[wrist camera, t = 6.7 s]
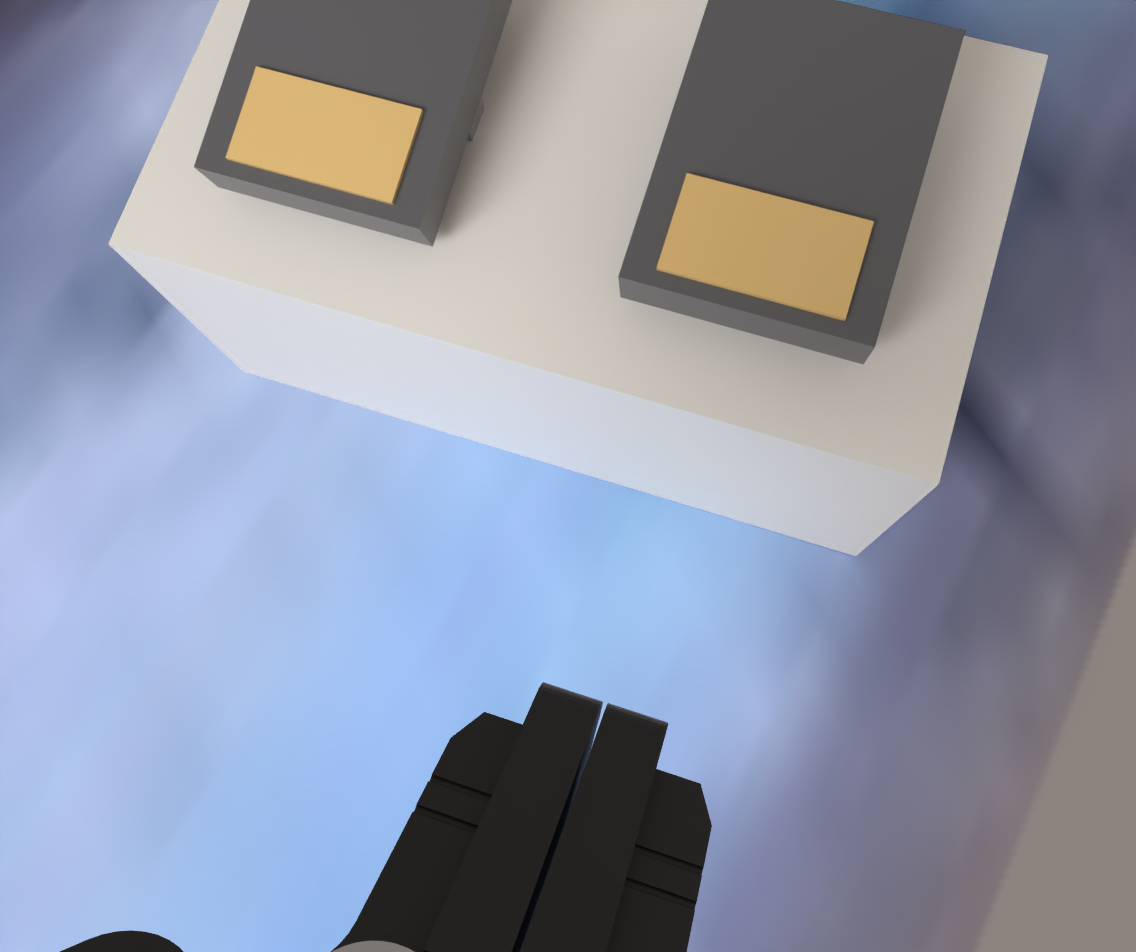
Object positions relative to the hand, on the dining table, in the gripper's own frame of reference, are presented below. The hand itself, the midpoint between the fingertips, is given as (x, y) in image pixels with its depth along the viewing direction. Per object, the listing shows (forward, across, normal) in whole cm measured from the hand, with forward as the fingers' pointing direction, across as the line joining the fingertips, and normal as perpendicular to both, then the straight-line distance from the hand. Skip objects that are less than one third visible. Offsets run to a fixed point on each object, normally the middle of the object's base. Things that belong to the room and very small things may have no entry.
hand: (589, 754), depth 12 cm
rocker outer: (+18, 0, -2) cm, 18 cm away
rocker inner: (+18, +11, -3) cm, 21 cm away
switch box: (+26, +6, +6) cm, 27 cm away
